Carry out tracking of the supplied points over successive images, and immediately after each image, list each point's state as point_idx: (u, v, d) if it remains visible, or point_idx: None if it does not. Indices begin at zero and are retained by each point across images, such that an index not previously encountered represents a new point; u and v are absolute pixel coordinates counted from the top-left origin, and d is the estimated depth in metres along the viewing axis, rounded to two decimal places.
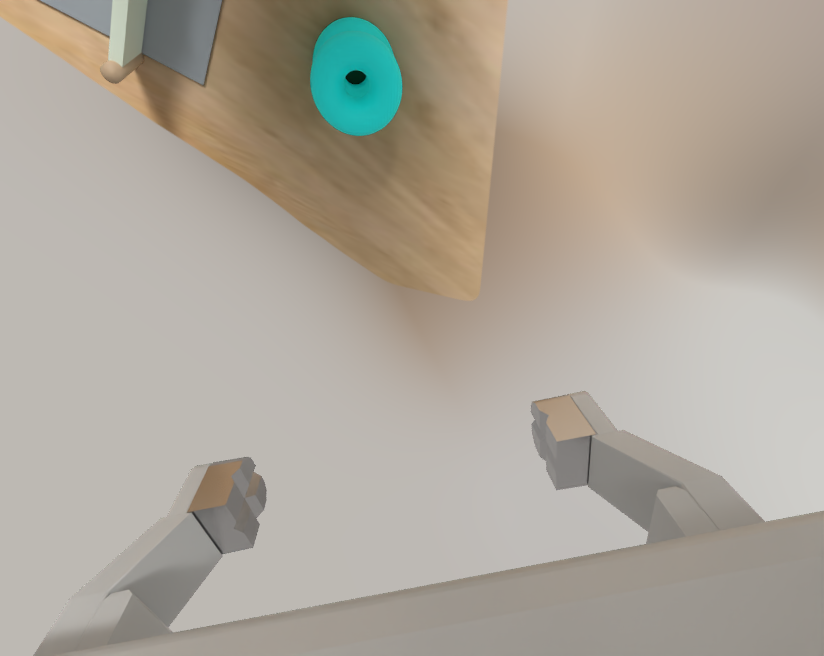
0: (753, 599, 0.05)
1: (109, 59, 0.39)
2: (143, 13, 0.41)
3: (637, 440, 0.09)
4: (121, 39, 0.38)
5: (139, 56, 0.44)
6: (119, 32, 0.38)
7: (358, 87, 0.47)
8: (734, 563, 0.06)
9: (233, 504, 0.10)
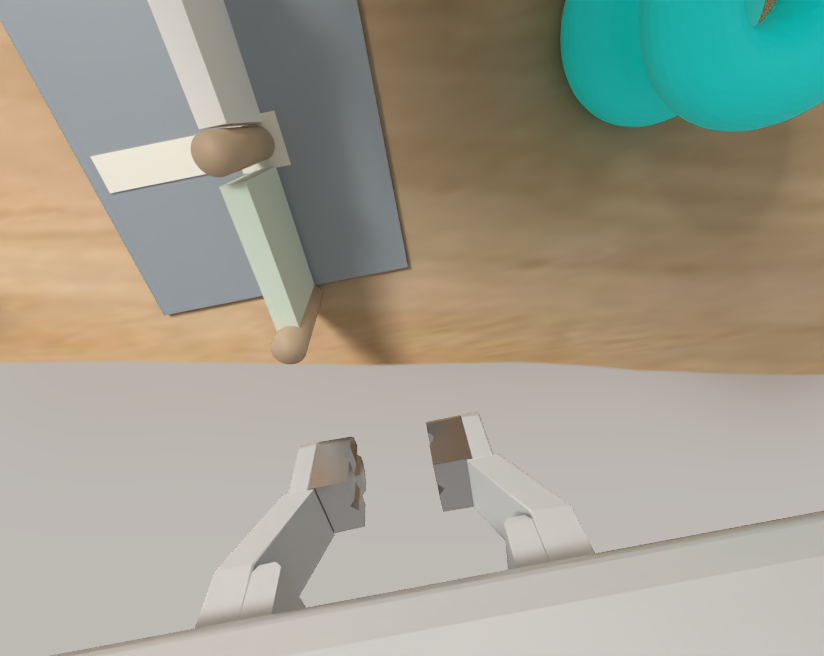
0: (753, 599, 0.05)
1: (278, 328, 0.21)
2: (291, 226, 0.23)
3: (507, 465, 0.09)
4: (277, 285, 0.20)
5: (314, 291, 0.25)
6: (270, 275, 0.19)
7: None
8: (734, 563, 0.06)
9: (351, 481, 0.10)
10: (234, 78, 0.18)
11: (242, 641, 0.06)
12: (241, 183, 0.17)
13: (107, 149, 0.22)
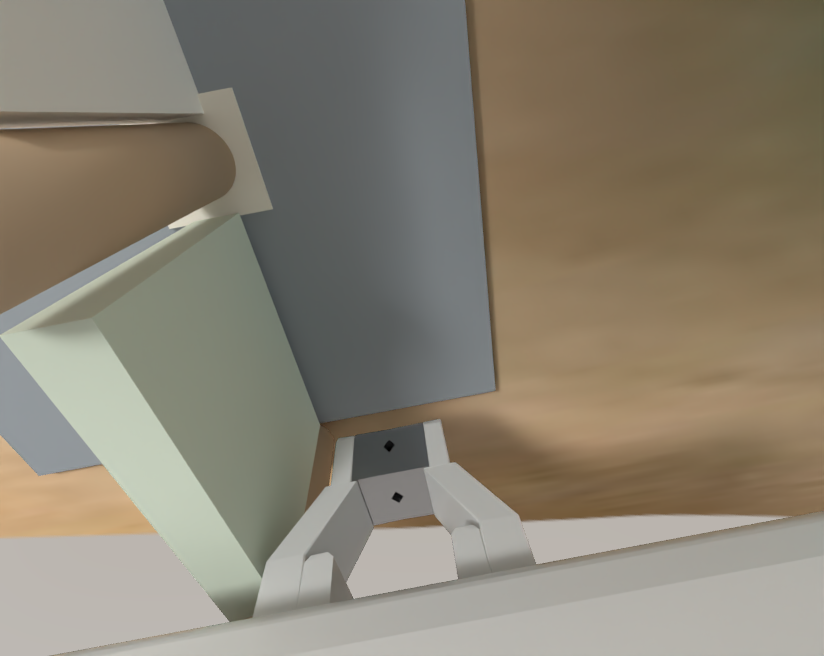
0: (753, 599, 0.05)
1: None
2: (273, 337, 0.11)
3: (462, 473, 0.09)
4: (227, 550, 0.07)
5: (320, 447, 0.13)
6: (204, 534, 0.07)
7: None
8: (734, 563, 0.06)
9: None
10: None
11: (242, 641, 0.06)
12: (79, 323, 0.05)
13: None
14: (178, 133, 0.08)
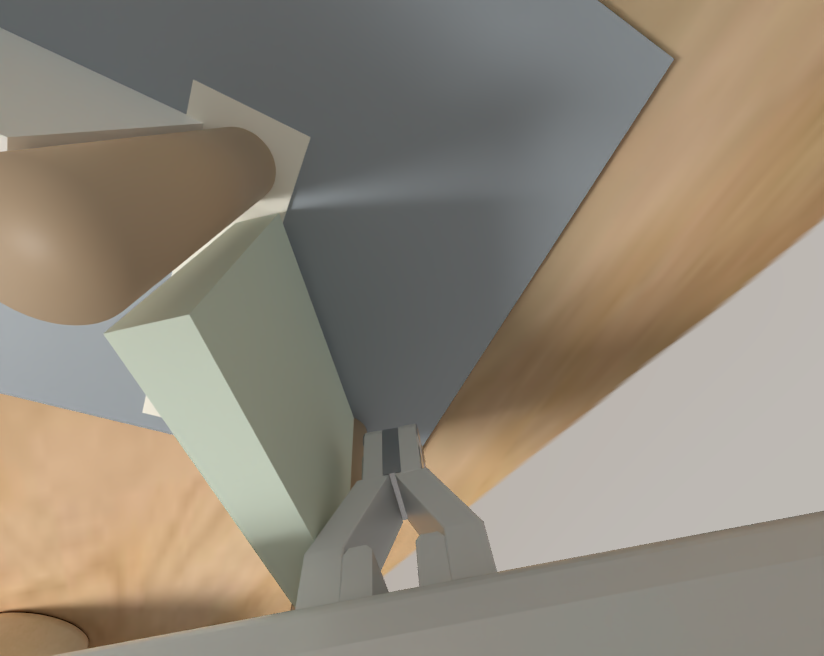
0: (753, 599, 0.05)
1: None
2: (313, 333, 0.11)
3: (432, 479, 0.09)
4: (295, 534, 0.08)
5: (356, 439, 0.13)
6: (275, 519, 0.07)
7: None
8: (734, 563, 0.06)
9: (423, 468, 0.10)
10: (39, 75, 0.07)
11: (242, 641, 0.06)
12: (176, 319, 0.05)
13: None
14: None
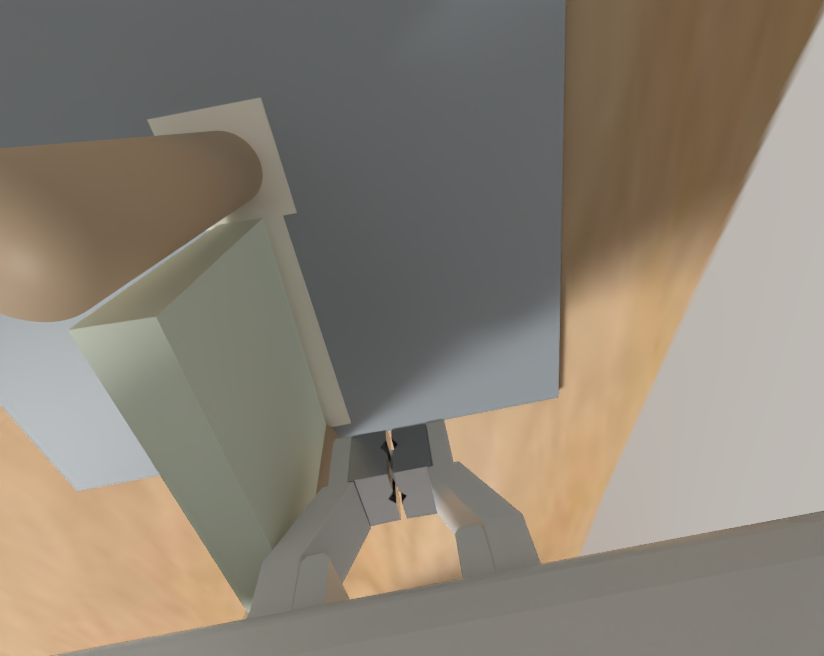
0: (753, 599, 0.05)
1: (250, 608, 0.09)
2: (289, 338, 0.11)
3: (465, 473, 0.09)
4: (251, 539, 0.08)
5: (327, 446, 0.13)
6: (232, 523, 0.07)
7: None
8: (734, 563, 0.06)
9: (389, 474, 0.10)
10: None
11: (242, 641, 0.06)
12: (143, 320, 0.05)
13: None
14: None
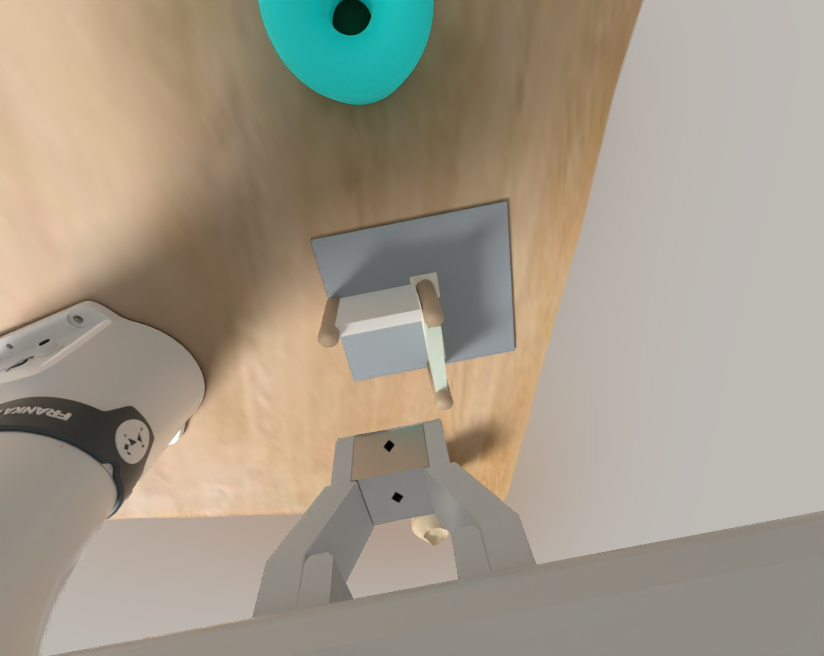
0: (753, 599, 0.05)
1: (436, 391, 0.39)
2: None
3: (462, 473, 0.09)
4: (442, 370, 0.38)
5: None
6: (440, 366, 0.37)
7: None
8: (734, 563, 0.06)
9: None
10: (398, 297, 0.38)
11: (242, 641, 0.06)
12: (438, 326, 0.35)
13: (425, 354, 0.44)
14: (419, 290, 0.38)
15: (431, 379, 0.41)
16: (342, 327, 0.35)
